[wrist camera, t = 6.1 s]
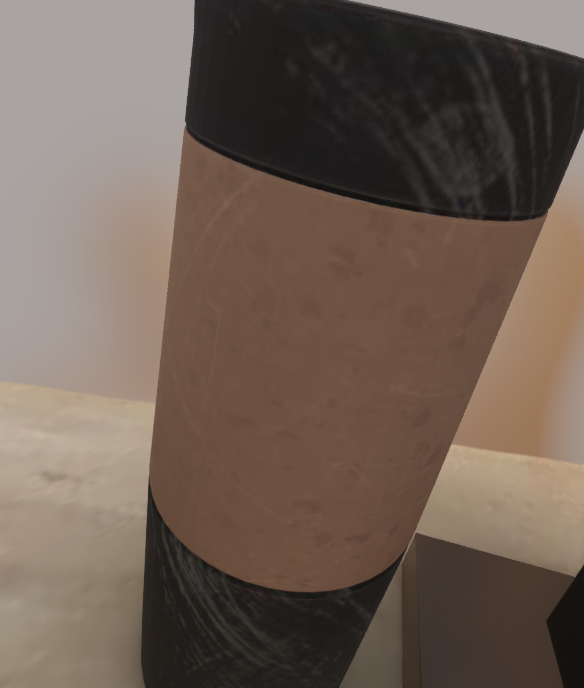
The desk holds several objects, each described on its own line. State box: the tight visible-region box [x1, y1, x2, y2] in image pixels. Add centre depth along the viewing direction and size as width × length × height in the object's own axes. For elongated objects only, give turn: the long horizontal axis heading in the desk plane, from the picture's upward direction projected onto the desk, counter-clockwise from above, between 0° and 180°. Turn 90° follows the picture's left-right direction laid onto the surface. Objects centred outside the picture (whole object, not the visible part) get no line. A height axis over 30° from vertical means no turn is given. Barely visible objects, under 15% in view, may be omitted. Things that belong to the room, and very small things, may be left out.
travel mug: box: [141, 0, 584, 688], centre depth 15 cm, size 8×8×20 cm
